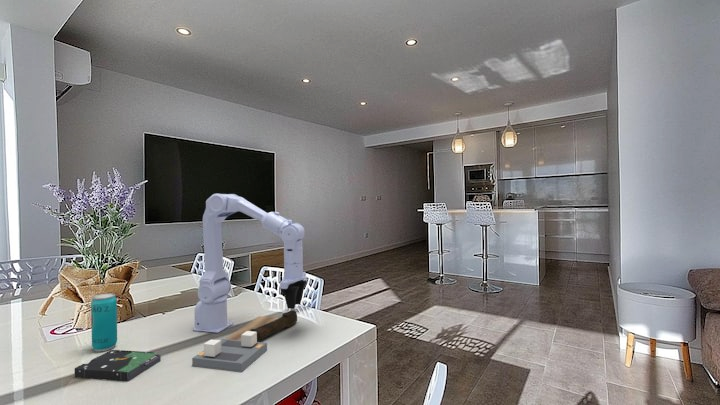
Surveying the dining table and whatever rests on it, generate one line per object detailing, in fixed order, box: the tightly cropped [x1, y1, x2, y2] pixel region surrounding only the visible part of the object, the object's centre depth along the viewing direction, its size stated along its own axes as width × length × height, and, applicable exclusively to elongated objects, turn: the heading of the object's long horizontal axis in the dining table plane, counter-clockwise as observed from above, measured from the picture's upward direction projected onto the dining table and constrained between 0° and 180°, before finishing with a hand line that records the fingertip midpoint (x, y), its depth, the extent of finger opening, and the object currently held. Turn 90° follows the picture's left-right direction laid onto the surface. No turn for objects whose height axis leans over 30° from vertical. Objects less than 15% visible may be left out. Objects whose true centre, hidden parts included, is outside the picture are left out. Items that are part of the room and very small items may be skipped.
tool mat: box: [224, 315, 280, 340], centre depth 107 cm, size 9×23×1 cm, turn 167°
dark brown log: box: [250, 309, 298, 342], centre depth 105 cm, size 19×4×5 cm, turn 147°
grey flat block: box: [191, 338, 268, 373], centre depth 88 cm, size 14×12×2 cm
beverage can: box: [90, 292, 118, 353], centre depth 95 cm, size 6×6×15 cm
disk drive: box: [74, 349, 162, 382], centre depth 83 cm, size 10×3×15 cm
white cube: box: [203, 339, 221, 357], centre depth 85 cm, size 3×3×3 cm
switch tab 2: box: [241, 331, 257, 347], centre depth 91 cm, size 3×3×3 cm
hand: (294, 306), depth 104 cm, fingers open, 4 cm apart
